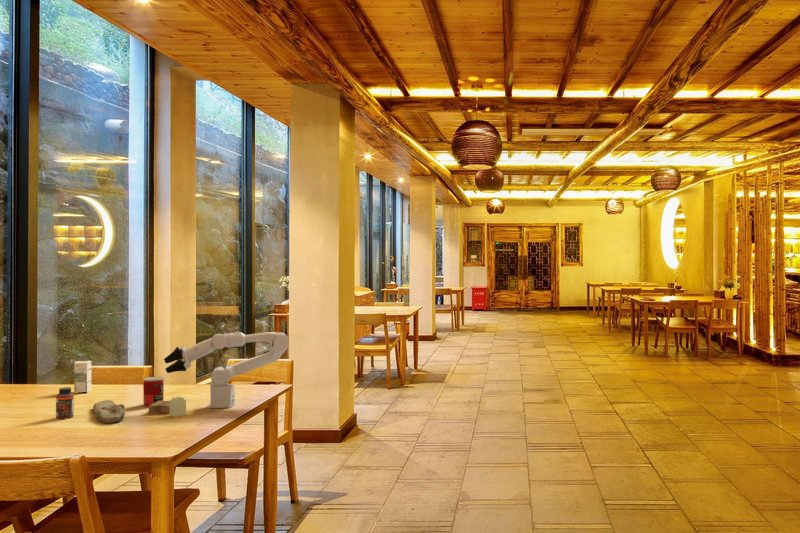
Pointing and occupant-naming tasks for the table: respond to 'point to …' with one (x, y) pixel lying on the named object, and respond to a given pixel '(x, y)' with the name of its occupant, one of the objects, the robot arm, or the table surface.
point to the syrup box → (82, 376)
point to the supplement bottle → (64, 403)
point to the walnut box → (159, 407)
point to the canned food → (153, 390)
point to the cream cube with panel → (177, 407)
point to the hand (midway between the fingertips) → (165, 366)
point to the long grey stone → (108, 411)
